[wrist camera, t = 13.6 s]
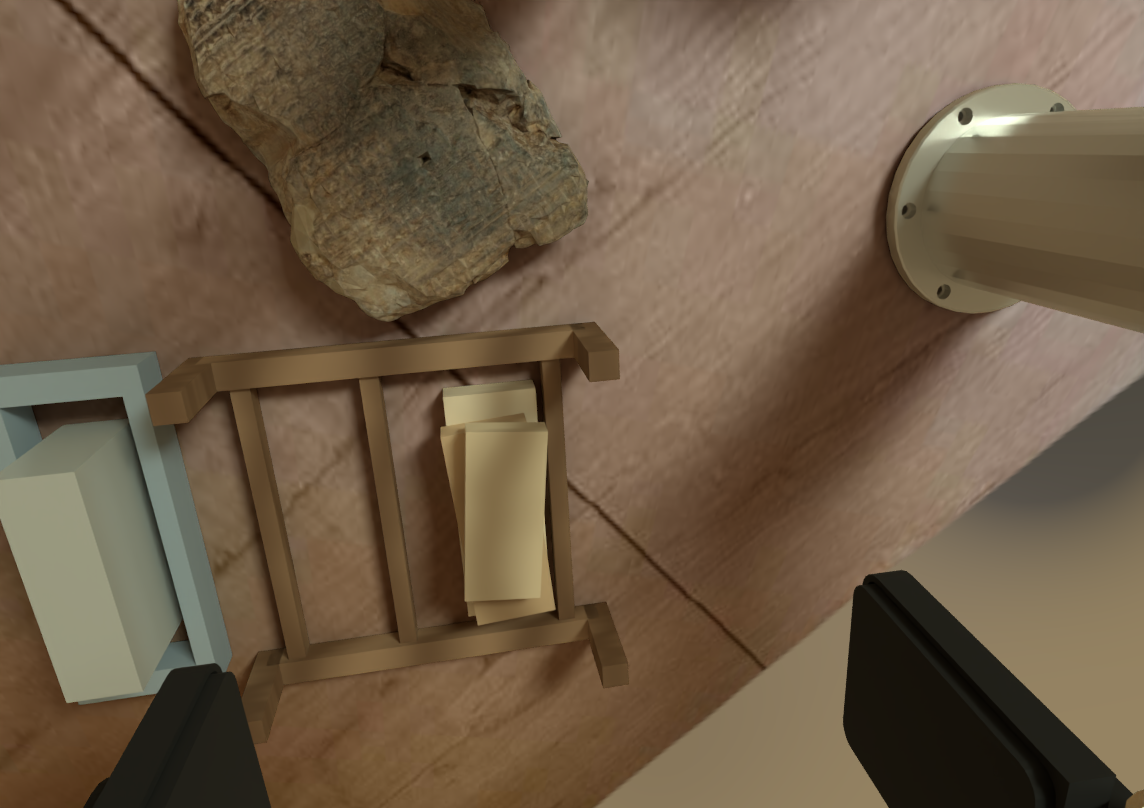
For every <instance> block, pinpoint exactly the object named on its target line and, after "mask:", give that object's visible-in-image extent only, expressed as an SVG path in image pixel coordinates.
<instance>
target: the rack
mask: <svg viewBox="0 0 1144 808" xmlns="http://www.w3.org/2000/svg"><path fill="white" fill-rule="evenodd" d="M573 357H574V358H575V359H576V361H577V363H578V364H579V366H580V367H581V369H582V371H583V372H584V374H585V375H586V377H587V379H588V380H589V382H597V381H607V380H617V379H620V371H619V349H618V348H617V347H616V346H615V345H614V344H613V342H612V341H611V340H610V339H609V338H608V337H607V335H606V334H605V333H604V332H603V331H602V330H601V329H600V327H599V326H598V325H597V324H596V323H595V322H589V323H578V324H566V325H555V326H544V327H533V328H521V329H510V330H499V331H488V332H477V333H465V334H454V335H443V336H432V337H420V338H409V339H398V340H387V341H376V342H364V343H353V344H342V345H331V346H319V347H308V348H297V349H286V350H274V351H263V352H252V353H241V354H230V355H218V356H207V357H196V358H188V359H187V360H186V361H185V362H183V363H182V364H181V365H180V366H179V367H177V368H176V369H175V370H174V371H173V372H171V373H170V374H169V375H168V376H167V377H165V378H164V379H163V380H162V381H161V382H160V383H158V384H157V385H156V386H155V387H154V388H152V389H151V390H150V391H149V392H148V393H146V394H145V397H146V400H147V404H148V408H149V412H150V416H151V419H152V423H153V426H160V425H169V424H179V423H189V422H190V420H191V419H192V418H193V417H194V416H195V415H196V414H197V413H198V412H199V411H200V410H201V408H202V407H203V406H204V405H205V404H206V403H207V402H208V401H209V400H210V399H211V398H212V396H213V395H214V394H215V393H216V392H218V391H228V390H229V392H230V396H231V401H232V405H233V410H234V414H235V419H236V423H237V428H238V432H239V437H240V441H241V446H242V450H243V455H244V459H245V464H246V468H247V473H248V477H249V482H250V487H251V491H252V496H253V500H254V505H255V509H256V514H257V518H258V523H259V527H260V532H261V536H262V541H263V545H264V550H265V554H266V559H267V563H268V568H269V572H270V577H271V581H272V586H273V590H274V595H275V599H276V604H277V608H278V613H279V617H280V622H281V626H282V631H283V635H284V640H285V645H286V648H282V649H275V650H268V651H261V652H258V654H257V657H256V660H255V663H254V665H253V668H252V671H251V674H250V676H249V679H248V682H247V685H246V687H245V690H244V693H243V696H242V698H241V699H242V703H243V707H244V710H245V714H246V718H247V721H248V725H249V729H250V732H251V736H252V740H253V743H254V744H259V743H265V742H267V740H268V737H269V734H270V730H271V727H272V723H273V720H274V717H275V713H276V710H277V706H278V703H279V700H280V696H281V693H282V689H283V686H284V685H287V684H294V683H300V682H307V681H314V680H320V679H327V678H334V677H340V676H347V675H354V674H360V673H367V672H374V671H380V670H387V669H394V668H400V667H407V666H414V665H420V664H427V663H434V662H440V661H447V660H454V659H460V658H467V657H474V656H480V655H487V654H494V653H500V652H507V651H514V650H520V649H527V648H534V647H540V646H547V645H554V644H560V643H567V642H573V641H580V640H587V639H589V642H590V645H591V649H592V652H593V655H594V659H595V662H596V666H597V669H598V672H599V676H600V679H601V682H602V686H603V688H609V687H615V686H621V685H628V684H629V675H628V661H627V658H626V656H625V653H624V650H623V647H622V645H621V642H620V639H619V636H618V633H617V631H616V628H615V625H614V622H613V620H612V617H611V614H610V611H609V608H608V606H607V603H606V602H602V603H595V604H588V605H581V606H574V592H573V575H572V558H571V541H570V524H569V506H568V489H567V472H566V455H565V438H564V421H563V403H562V386H561V369H560V359H563V358H573ZM532 361H540V375H541V390H542V405H543V419H544V422H545V425H546V428H547V430H548V441H547V478H548V493H549V507H550V522H551V537H552V551H553V566H554V581H555V595H556V609H555V610H552V611H547V612H542V613H537V614H533V615H528V616H523V617H518V618H513V619H508V620H503V621H498V622H493V623H488V624H484V625H479V626H478V624H477V621H470V622H463V623H456V624H449V625H442V626H435V627H428V628H421V629H418V628H417V621H416V614H415V607H414V600H413V594H412V587H411V580H410V573H409V566H408V559H407V553H406V546H405V539H404V532H403V525H402V518H401V511H400V505H399V498H398V491H397V484H396V477H395V470H394V464H393V457H392V450H391V443H390V436H389V429H388V422H387V416H386V409H385V402H384V395H383V388H382V381H381V376H385V375H396V374H406V373H416V372H427V371H437V370H448V369H458V368H469V367H479V366H490V365H500V364H511V363H521V362H532ZM354 378H359V384H360V390H361V396H362V403H363V409H364V415H365V422H366V428H367V435H368V441H369V447H370V454H371V460H372V466H373V473H374V479H375V485H376V492H377V498H378V505H379V511H380V517H381V524H382V530H383V536H384V543H385V549H386V556H387V562H388V568H389V575H390V581H391V587H392V594H393V600H394V607H395V613H396V619H397V626H398V632H393V633H386V634H379V635H372V636H365V637H358V638H351V639H344V640H338V641H331V642H324V643H317V644H310V643H309V639H308V634H307V629H306V624H305V619H304V615H303V610H302V605H301V600H300V595H299V591H298V586H297V581H296V576H295V571H294V566H293V562H292V557H291V552H290V547H289V542H288V538H287V533H286V528H285V523H284V518H283V514H282V509H281V504H280V499H279V494H278V490H277V485H276V480H275V475H274V470H273V465H272V461H271V456H270V451H269V446H268V441H267V437H266V432H265V427H264V422H263V417H262V413H261V408H260V403H259V398H258V393H257V389H256V388H260V387H270V386H280V385H291V384H301V383H312V382H322V381H333V380H343V379H354Z"/></svg>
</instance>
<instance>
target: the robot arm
mask: <svg viewBox="0 0 1144 808" xmlns="http://www.w3.org/2000/svg"><path fill="white" fill-rule="evenodd" d="M902 209H903V211H902ZM886 225H887V239H888V244H889V248H890V253H891V257H892V259H893V261H894V263H895V266H896V268H897V270H898V272H899V274H900V275H901V277H902V278H903V279H904V281H905V282H906V283H907V285H908V286H909V287H910V288H911V289H912V290H913V291H914V292H915V293H917V294H918V295H919V296H920V297H921V298H923V299H924V300H926V301H928V302H930V303H932V304H934V305H936V306H938V307H942V308H945V309H949V310H952V311H955V312H962V313H971V314H975V313H986V312H993V311H996V310H1000V309H1003V308H1006V307H1010V306H1012V305H1014V304H1016V303H1018V302H1020V301H1024V302H1028V303H1032V304H1035V305H1039V306H1043V307H1047V308H1050V309H1054V310H1058V311H1062V312H1065V313H1069V314H1073V315H1077V316H1080V317H1084V318H1088V319H1091V320H1095V321H1099V322H1103V323H1106V324H1110V325H1114V326H1118V327H1121V328H1125V329H1129V330H1133V331H1136V332H1140V333H1144V107H1130V108H1113V109H1095V110H1076V109H1075V108H1074V107H1073V106H1072V104H1071V103H1070V102H1069V101H1068V100H1066V99H1065V98H1063V97H1062V96H1060V95H1058V94H1057V93H1055V92H1054V91H1052V90H1049V89H1046V88H1043V87H1040V86H1037V85H1032V84H1018V83H1013V84H1003V85H994V86H990V87H987V88H983V89H979V90H975V91H973V92H971V93H969V94H967V95H965V96H963V97H961V98H959V99H957V100H955V101H953V102H952V103H950V104H949V105H948V106H946V107H945V108H944V109H942V110H941V111H940V112H938V113H937V114H936V115H935V116H934V117H933V118H932V119H931V120H930V121H929V122H928V123H927V124H926V125H925V126H924V127H923V128H922V129H921V130H920V132H919V133H918V134H917V136H916V137H915V139H914V140H913V142H912V143H911V144H910V146H909V147H908V149H907V150H906V152H905V154H904V156H903V158H902V160H901V162H900V164H899V167H898V169H897V171H896V173H895V176H894V180H893V183H892V186H891V190H890V193H889V199H888V206H887V214H886ZM846 680H847V681H846V691H845V703H844V715H843V726H844V731H845V735H846V738H847V741H848V743H849V745H850V747H851V749H852V750H853V752H854V753H855V755H856V756H857V758H858V760H859V761H860V763H861V764H862V766H863V767H864V769H865V770H866V772H867V774H868V775H869V777H870V778H871V780H872V781H873V783H874V785H875V786H876V788H877V789H878V791H879V793H880V794H881V796H882V797H883V799H884V801H885V802H886V804H887V805H888V807H889V808H1144V790H1140V791H1137V792H1135V793H1134V794H1132V793H1131V792H1130V791H1129V790H1128V789H1127V788H1126V787H1125V786H1124V785H1123V784H1122V783H1121V782H1120V781H1119V780H1118V779H1117V778H1116V774H1114V773H1113V772H1112V771H1111V770H1110V769H1109V768H1108V767H1107V766H1106V765H1105V764H1104V763H1103V762H1102V761H1101V760H1100V759H1099V758H1098V757H1097V756H1096V755H1095V754H1094V753H1093V752H1092V751H1091V750H1090V749H1089V748H1088V747H1087V746H1086V745H1085V744H1084V743H1083V742H1082V741H1081V740H1080V739H1079V738H1078V737H1077V736H1076V735H1075V734H1073V732H1071V731H1070V730H1069V729H1068V728H1067V727H1066V726H1065V725H1064V724H1063V723H1062V722H1061V721H1060V720H1059V719H1058V718H1057V717H1056V716H1055V715H1054V714H1053V713H1052V712H1051V711H1050V710H1049V709H1048V708H1047V707H1046V706H1045V705H1044V704H1043V703H1042V702H1041V701H1040V700H1039V699H1038V698H1037V697H1036V696H1035V695H1034V694H1033V693H1032V692H1031V691H1030V690H1028V689H1027V688H1026V687H1025V686H1024V685H1023V684H1022V683H1021V682H1020V681H1019V680H1018V679H1017V678H1016V677H1015V676H1014V675H1013V674H1012V673H1011V672H1010V671H1009V670H1008V669H1007V668H1006V667H1005V666H1004V665H1003V664H1002V663H1001V662H1000V661H999V660H998V659H997V658H996V657H995V656H994V655H993V654H992V653H991V652H989V650H988V649H987V648H985V647H984V646H983V645H982V644H981V643H980V642H979V641H978V640H977V639H976V638H975V637H974V636H973V635H972V634H971V633H970V632H969V631H968V630H967V629H966V628H965V627H964V626H963V625H962V624H961V623H960V622H959V621H958V620H957V619H956V618H955V617H954V616H953V615H952V614H951V613H950V612H949V611H948V610H947V609H945V607H944V606H942V605H941V604H940V603H939V602H938V601H937V600H936V599H935V598H934V597H933V596H932V595H931V594H930V593H929V592H928V591H927V590H926V589H925V588H924V587H923V586H922V585H921V584H920V583H919V582H918V581H917V580H916V579H915V578H914V577H913V576H912V575H911V574H909V573H908V572H907V571H903V570H900V571H892V572H884V573H877V574H869V575H867V576H866V577H865V579H864V580H863V585H859V586H857V587H856V588H855V590H854V595H853V607H852V619H851V632H850V643H849V655H848V667H847V679H846ZM83 808H271V806H270V802H269V798H268V795H267V791H266V787H265V784H264V780H263V776H262V773H261V769H260V765H259V762H258V758H257V754H256V751H255V747H254V743H253V740H252V736H251V732H250V729H249V725H248V721H247V718H246V714H245V710H244V707H243V703H242V699H241V696H240V692H239V688H238V685H237V681H236V678H235V676H234V674H233V673H232V672H222V669H221V667H220V666H219V665H218V664H216V663H211V664H203V665H196V666H189V667H181V668H175V669H173V670H171V671H170V672H169V674H168V675H167V677H166V678H165V680H164V682H163V684H162V685H161V687H160V689H159V691H158V693H157V694H156V696H155V698H154V700H153V701H152V703H151V705H150V707H149V709H148V710H147V712H146V714H145V716H144V717H143V719H142V721H141V723H140V725H139V726H138V728H137V730H136V732H135V733H134V735H133V737H132V739H131V740H130V742H129V744H128V746H127V748H126V749H125V751H124V753H123V755H122V756H121V758H120V760H119V762H118V764H117V765H116V767H115V769H114V771H113V772H112V774H111V776H110V777H109V778H106V779H105V780H103V781H102V782H101V783H99V784H98V786H97V787H96V788H95V790H94V791H93V792H92V794H91V795H90V797H89V799H88V800H87V802H86V804H85V806H84V807H83Z"/></svg>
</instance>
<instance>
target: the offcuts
mask: <svg viewBox="0 0 1144 808" xmlns="http://www.w3.org/2000/svg"><path fill="white" fill-rule="evenodd" d="M443 402H444V411H445V419H446V426H444V427H441V434H440V437H441V442H442V447H443V452H444V458H445V463H446V468H447V473H448V478H449V483H450V488H451V493H452V498H453V503H454V508H455V513H456V518H457V523H458V530H459V539H460V548H461V556H462V565H463V573H464V597H465V602H467V607H468V616H469V617H470V616H476V619H477V624H478V626H479V625H484V624H488V623H493V622H498V621H503V620H508V619H513V618H518V617H523V616H528V615H533V614H537V613H542V612H547V611H552V610H555V603H554V597H553V590H552V584H551V577H550V571H549V564H548V558H547V545H546V531H545V517H544V507H545V485H546V463H547V441H548V430H547V428H546V425H545V422H538V419H537V405H536V390H535V386H534V383H533V381H532V380H522V381H512V382H502V383H491V384H481V385H471V386H461V387H451V388H443Z"/></svg>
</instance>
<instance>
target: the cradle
mask: <svg viewBox="0 0 1144 808" xmlns="http://www.w3.org/2000/svg"><path fill="white" fill-rule="evenodd" d="M162 380H163V379H162V375H161V371H160V367H159V363H158V359H157V355H156V352H145V353H133V354H122V355H110V356H99V357H87V358H76V359H65V360H53V361H42V362H30V363H19V364H7V365H0V471H2V470H3V469H4V468H6V467H7V466H9V465H10V464H11V463H13V462H14V461H15V460H17V459H18V458H19V457H21V456H22V455H23V454H25V453H26V452H27V451H29V450H30V449H31V448H33V447H34V446H36V445H37V444H38V443H40V442H41V441H42V438H41V435H40V432H39V429H38V425H37V422H36V419H35V416H34V413H33V410H32V407H31V405H38V404H49V403H59V402H70V401H81V400H91V399H102V398H112V397H123V400H124V404H125V407H126V411H127V415H128V418H129V422H130V426H131V429H132V433H133V437H134V440H135V444H136V447H137V451H138V455H139V458H140V462H141V466H142V469H143V473H144V477H145V480H146V484H147V488H148V491H149V495H150V498H151V502H152V506H153V509H154V513H155V517H156V520H157V524H158V528H159V531H160V535H161V539H162V542H163V546H164V549H165V553H166V557H167V560H168V564H169V568H170V571H171V575H172V579H173V582H174V586H175V589H176V593H177V597H178V600H179V604H180V608H181V611H182V615H183V619H184V622H185V626H186V630H187V633H188V637H189V640H187V641H180V642H172V643H169V645H168V647H167V649H166V650H165V652H164V654H163V656H162V658H161V660H160V661H159V663H158V665H157V667H156V669H155V671H154V672H153V674H152V676H151V678H150V680H149V682H148V683H147V685H146V687H145V689H144V691H143V692H137V693H131V694H124V695H117V696H111V697H104V698H98V699H91V700H84V701H78V704H79V705H82V704H89V703H96V702H102V701H109V700H116V699H123V698H129V697H136V696H143V695H150V694H156V693H158V691H159V689H160V687H161V685H162V684H163V682H164V680H165V678H166V677H167V675H168V674H169V672H170V671H171V670H173V669H175V668H181V667H189V666H196V665H203V664H211V663H216V664H218V665H219V666H220V667H221V669H222V672H226V670H227V667H228V665H229V663H230V660H231V658H232V652H231V648H230V644H229V640H228V636H227V632H226V628H225V624H224V620H223V616H222V613H221V609H220V605H219V601H218V597H217V593H216V589H215V585H214V581H213V577H212V573H211V569H210V565H209V561H208V557H207V553H206V549H205V545H204V541H203V537H202V533H201V529H200V526H199V522H198V518H197V514H196V510H195V506H194V502H193V498H192V494H191V490H190V486H189V482H188V478H187V474H186V470H185V466H184V462H183V458H182V454H181V450H180V446H179V442H178V439H177V435H176V431H175V427H174V424H169V425H160V426H153V423H152V419H151V416H150V412H149V408H148V404H147V400H146V397H145V394H146V393H148V392H149V391H150V390H151V389H152V388H154V387H155V386H156V385H157V384H158V383H160V382H161V381H162Z"/></svg>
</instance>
